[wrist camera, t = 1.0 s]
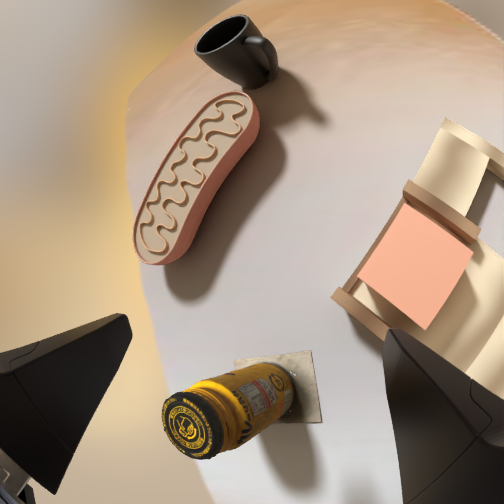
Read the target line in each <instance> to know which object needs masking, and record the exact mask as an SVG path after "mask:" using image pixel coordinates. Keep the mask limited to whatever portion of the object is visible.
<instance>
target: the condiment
mask: <svg viewBox="0 0 504 504" xmlns="http://www.w3.org/2000/svg"><path fill="white" fill-rule="evenodd" d="M234 363H235V369H236V370H235V371H231V372H230V373H226V374H224V375H221V376H217V377H214V378H209V379H206V380H201V381H200V382H198V383H196V384H194V385H193V386H191V387H190V388H189V389H186V390H184V391H183V392H177V393H175V394H174V395H172V396H171V397H170V398H168V399H166V401H165V402H164V405H163V409H162V421H163V426H164V431H165V432H166V433H167V435H168V437H169V439H170V441H171V442H172V444H173V445H174V446H176V448H177V449H178V450H179V451H180V452H182V453H183V454H185V455H187V456H188V457H190V458H193V459H199V460H203V459H211V457H215V456H216V454H218V453H221V452H225V451H227V450H233V449H236V448H238V447H240V446H241V445H243V444H244V443H246V442H247V441H249V440H250V439H251V438H253V437H254V436H255V435H257V434H258V433H260V432H261V431H262V430H264V429H265V428H266V427H268V426H269V425H270V424H272V423H303V422H321V416H320V407H319V401H318V393H317V386H316V379H315V374H314V368H313V362H312V357H311V351H310V350H309V351H303V352H296V353H290V354H283V355H275V356H267V357H259V358H249V359H240V360H234ZM290 371H291V372H292V373H294V374H296V376H294V375H293V374H291V373H290ZM290 410H291V412H290Z"/></svg>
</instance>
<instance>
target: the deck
mask: <svg viewBox="0 0 504 504" xmlns="http://www.w3.org/2000/svg"><path fill="white" fill-rule="evenodd" d="M485 169H488V170H489V171H491V172H492V173H493V174H495V175H496V176H498V177H499V178H500V179H502V180H503V181H504V153H502V152H501V151H500V150H498V149H497V148H495V147H494V146H492V145H491V144H489V143H488V142H486V141H485V140H483V139H482V138H480V137H479V136H477V135H475V134H474V133H472V132H470V131H469V130H467V129H465V128H464V127H462V126H460V125H458V124H456V123H455V122H453V121H451V120H449V119H447V118H445V119H444V121H443V123H442V125H441V128H440V130H439V132H438V134H437V136H436V138H435V140H434V142H433V144H432V146H431V148H430V150H429V152H428V154H427V156H426V158H425V160H424V162H423V163H422V165H421V167H420V169H419V171H418V173H417V175H416V176H415V178H414V180H413V182H414V183H415V184H417V185H419V186H420V187H422V188H423V189H425V190H427V191H428V192H430V193H431V194H433V195H434V196H436V197H437V198H439V199H440V200H442V201H443V202H445V203H446V204H448V205H449V206H451V207H452V208H453V209H455V210H456V211H458V212H459V213H460V214H462V215H463V216H466V214H467V212H468V210H469V207H470V205H471V203H472V201H473V199H474V196H475V194H476V192H477V189H478V187H479V185H480V182H481V180H482V177H483V174H484V172H485ZM407 205H409V206H410V207H412V208H413V209H415V210H416V211H418V212H419V213H421V214H422V215H424V216H425V217H427V218H428V219H430V220H431V221H432V222H434V223H435V224H437V225H438V226H440V227H441V228H442V229H444V230H445V231H446V232H448V233H449V234H451V235H452V236H453V237H455V238H456V239H457V240H458V241H460V242H461V243H462V244H464V245H465V246H466V247H468V248H469V249H470V250H471V251H473V252H474V253H473V255H472V257H471V259H470V261H469V262H468V264H467V266H466V268H465V270H464V271H463V273H462V275H461V277H460V278H459V280H458V282H457V283H456V285H455V287H454V288H453V290H452V292H451V293H450V295H449V296H448V298H447V300H446V301H445V303H444V304H443V306H442V307H441V309H440V310H439V312H438V313H437V315H436V316H435V317H434V319H433V320H432V322H431V323H430V324H429V326H428V327H427V329H426V330H424V329H423V328H422V327H420V326H419V325H418V324H417V323H416V322H414V321H413V320H412V319H411V318H409V317H408V316H407V315H406V314H405V313H403V312H402V311H401V310H400V309H398V308H397V307H396V306H395V305H393V304H392V303H391V302H390V301H388V300H387V299H386V298H384V297H383V296H382V295H381V294H379V293H378V292H377V291H376V290H374V289H373V288H372V287H370V286H369V285H368V284H366V283H365V282H364V281H363V280H361V279H360V278H359V280H358V281H357V282H356V284H355V285H354V287H353V288H352V289H351V291H350V292H349V293H350V294H351V295H353V296H354V297H355V298H356V299H358V300H359V301H360V302H361V303H363V304H364V305H365V306H366V307H368V308H369V309H370V310H371V311H373V312H374V313H375V314H376V315H378V316H379V317H380V318H381V319H382V320H384V321H385V322H386V323H387V324H389V325H390V326H391V327H392V328H401V329H403V330H404V331H406V332H407V333H408V334H410V335H411V336H413V337H414V338H416V339H417V340H419V341H420V342H421V343H423V344H424V345H426V346H427V347H429V348H430V349H432V350H433V351H434V352H436V353H437V354H439V355H440V356H442V357H443V358H444V359H446V360H447V361H449V362H450V363H451V364H453V365H454V366H456V367H457V368H458V369H460V370H461V371H463V372H464V373H465V374H467V375H468V376H470V377H471V379H474V380H475V381H477V382H478V383H479V384H481V385H482V386H484V387H485V388H487V389H488V390H489V391H491V392H492V393H494V394H496V395H497V396H499V397H500V398H502V399H504V259H502V258H501V257H500V256H499V255H498V254H497V253H496V252H494V251H493V250H492V249H491V248H490V247H488V246H487V245H486V244H485V243H484V242H482V241H481V240H480V239H479V238H477V239H476V240H475V241H474V242H473V243H472V244H471V245H470V246H469V245H468V244H467V243H466V242H464V241H463V240H462V239H460V238H459V237H458V236H456V235H455V234H454V233H452V232H451V231H450V230H448V229H447V228H446V227H444V226H443V225H442V224H440V223H439V222H437V221H436V220H434V219H433V218H432V217H430V216H429V215H427V214H426V213H424V212H423V211H421V210H420V209H418V208H417V207H415V206H414V205H412V204H411V203H408V204H407Z"/></svg>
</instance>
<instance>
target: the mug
mask: <svg viewBox="0 0 504 504" xmlns="http://www.w3.org/2000/svg"><path fill="white" fill-rule="evenodd" d="M194 51H195V53H196V55H197V56H199V57H200V58H201V59H202V60H203V61H204V62H205V63H206V64H207V65H208V66H210V67H211V68H212V69H213V70H215V71H216V72H218V73H219V74H221V75H222V76H224V77H226V78H227V79H229V80H231V81H233V82H235V83H237V84H239V85H241V86H242V87H244V88H246V89H256V88H259V87H261V86H263V85H265V84H266V83H267V82H269V81H270V80H273V79H275V78H276V77H277V75H278V58H277V53H276V50H275V48H274V46H273V45H272V43H271V42H270V41H269V40H268V39H266V38H264V37H263V36H262V34H261V32H260V31H259V30H258V28H257V27H256V26H255V25H254V23H253V22H252V21H251V20H250V18H249V17H247V16H246V15H235V16H231V17H228V18H226V19H224V20H222V21H220V22H218V23H216V24H215V25H213V26H212V27H211V28H209V29H208V30H207V31H206V32H205V33H204V34H203V35H202V36H201V37H200V38H199V40H198V41H197V43H196V45H195V48H194Z"/></svg>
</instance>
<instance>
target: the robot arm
mask: <svg viewBox="0 0 504 504" xmlns="http://www.w3.org/2000/svg"><path fill="white" fill-rule="evenodd" d="M131 340H132V330H131V327H130V324H129V320H128V317H127V316H126V315H125V314H119V313H116V314H113V315H110V316H107V317H104V318H102V319H99V320H96V321H93V322H91V323H88V324H85V325H82V326H80V327H77V328H74V329H71V330H68V331H66V332H63V333H60V334H57V335H54V336H52V337H49V338H46V339H43V340H41V341H37V342H35V343H32V344H29V345H26V346H23V347H20V348H16V349H13V350H10V351H6V352H2V353H0V504H36V503H35V498H34V493H33V488H32V487H31V486H29V485H28V484H27V483H28V481H29V480H30V479H31V477H32V478H33V479H34V480H35V481H37V482H38V483H39V484H40V485H42V486H43V487H44V488H45V489H47V490H48V491H49V492H51V493H52V494H54V495H55V494H56V493H57V491H58V488H59V486H60V484H61V481H62V479H63V477H64V475H65V472H66V470H67V468H68V466H69V463H70V462H71V459H72V457H73V455H74V453H75V451H76V449H77V447H78V444H79V442H80V440H81V438H82V436H83V434H84V432H85V430H86V428H87V426H88V424H89V422H90V420H91V419H92V417H93V415H94V413H95V411H96V409H97V407H98V405H99V404H100V402H101V400H102V398H103V396H104V394H105V392H106V391H107V389H108V387H109V385H110V383H111V381H112V380H113V378H114V376H115V374H116V373H117V371H118V369H119V367H120V364H121V362H122V360H123V358H124V355H125V353H126V351H127V349H128V346H129V344H130V342H131ZM382 359H383V367H384V376H385V385H386V394H387V400H388V404H389V409H390V414H391V419H392V424H393V430H394V436H395V441H396V448H397V454H398V461H399V469H400V477H401V486H402V497H403V504H504V399H502V398H500V397H499V396H497V395H496V394H494V393H492V392H491V391H489V390H488V389H487V388H485V387H484V386H482V385H481V384H479V383H478V382H477V381H475V380H474V379H471V377H470V376H468V375H467V374H465V373H464V372H463V371H461V370H460V369H458V368H457V367H456V366H454V365H453V364H451V363H450V362H449V361H447V360H446V359H444V358H443V357H442V356H440V355H439V354H437V353H436V352H434V351H433V350H432V349H430V348H429V347H427V346H426V345H424V344H423V343H421V342H420V341H419V340H417V339H416V338H414V337H413V336H411V335H410V334H408V333H407V332H406V331H404V330H403V329H401V328H389V329H388V330H387V333H386V337H385V341H384V345H383V349H382Z"/></svg>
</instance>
